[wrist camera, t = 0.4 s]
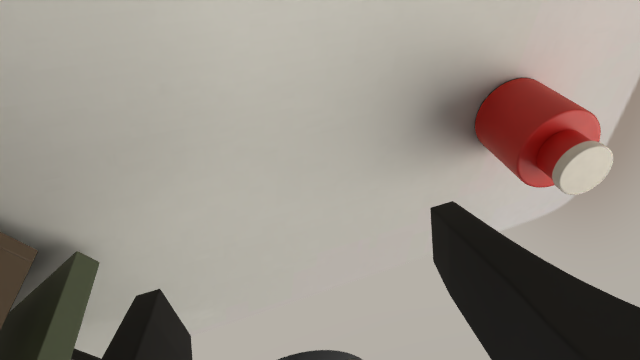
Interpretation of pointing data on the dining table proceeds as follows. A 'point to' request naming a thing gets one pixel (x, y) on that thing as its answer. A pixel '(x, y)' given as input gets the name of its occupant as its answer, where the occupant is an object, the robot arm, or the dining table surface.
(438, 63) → the dining table surface
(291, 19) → the dining table surface
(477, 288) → the robot arm
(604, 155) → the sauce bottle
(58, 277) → the drawer
